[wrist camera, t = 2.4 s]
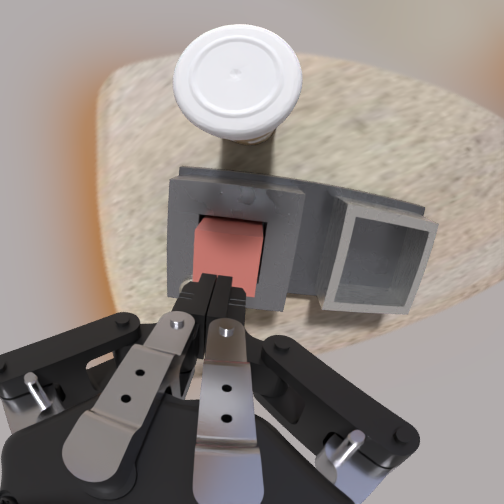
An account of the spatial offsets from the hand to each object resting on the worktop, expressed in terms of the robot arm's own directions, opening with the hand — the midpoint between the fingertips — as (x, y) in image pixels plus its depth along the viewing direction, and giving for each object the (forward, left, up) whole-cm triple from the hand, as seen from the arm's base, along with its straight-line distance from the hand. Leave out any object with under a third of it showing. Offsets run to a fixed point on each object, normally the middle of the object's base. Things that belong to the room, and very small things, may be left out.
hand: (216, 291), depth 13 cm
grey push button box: (-6, 0, -11) cm, 13 cm away
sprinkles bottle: (0, -9, -11) cm, 15 cm away
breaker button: (0, 0, -9) cm, 9 cm away
